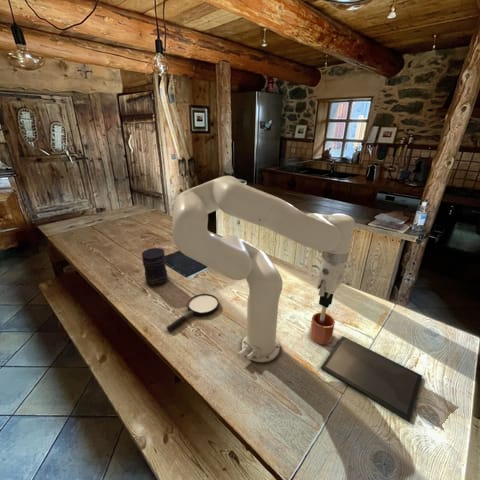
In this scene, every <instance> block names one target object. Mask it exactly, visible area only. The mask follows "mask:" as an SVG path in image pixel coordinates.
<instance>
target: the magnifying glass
mask: <svg viewBox="0 0 480 480" xmlns="http://www.w3.org/2000/svg"><path fill="white" fill-rule="evenodd" d="M219 305H220V304H219V299H218V297H216V296H215V295H213V294H209V293H200V294H196V295H194V296H192V297H191V298H190V299H188V301H187V310H188V312H187V313H185V314H184V315H182V316H180V317H179V318H177V319H176V320H174V321H173V322H172V323H170V324H169V325H167V326H166V330H167V331H168V332H169V333H172V332H173V331H174V330H175V329H177V328H178V327H179V326H180V325H182V324H183V323H185V322H187V320H188V319H189V318H190V317H192V316H195V317H206V316H210V315H212V314H214V313H215V312H217V310H218V309H219Z"/></svg>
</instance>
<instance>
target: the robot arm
mask: <svg viewBox="0 0 480 480" xmlns="http://www.w3.org/2000/svg"><path fill="white" fill-rule="evenodd" d="M219 210H221V212H222V213H224V214H226V215H228V216H231V217H234V218H236V219H239V220H242V221H245V222H248V223H251V224H253V225H257V226H259V227H263V228H265V229H267V230H270V231H271V232H273V233H275V234H277V235H280V236H282V237H284V238H287V239H288V240H290V241H292V242H295V243H296V244H298V245H301V246H304V247H307V248H309V249H313V250H316V251H318V252H321V253H320V255H321V256H320V259H321V260H322V261H321V263H320V268H319V272H318V276H317V281H316V288H317V290H319V292H318V294H317V295H318V296H319V300H318V304H319V306H321V307H322V306H324V307H326V309H328V308H329V307H330V305H332V304H333V298H334V293H335V292H336V290H338V288H340V286H341V285H342V284H343V281H344V276H345V270H346V263H347V262H348V257H349V254H350V253H349V252H350V247H351V243H352V238H353V234H354V228H355V224H356V222H355V219H354V218H353V217H352V216H350V215H348V214H344V213H333V214H325V213H324V214H323V213H315V212H313V213H312V212H311V213H305V212H303V211H301V210H299V209H298V208H296V207H294V205H292V204H290V203H289V202H287V201H286V200H283V199H282V198H279V197H278V196H275V195H272V194H270V193H268V192H264V191H262V190H259V189H257V188H255V187H253V186H250V185H248V184H245V183H242V182H241V181H240V180H239V179H238V178H236V177H235V176H232V175H224V176H220V177H217V178H215V179H211V180H209V181H206V182H204V183H202V184H199V185H197V186H194V187H191V188H188V189H186V190H183V191H182V192H180V193H179V194H178V195H177V196H176V197H175V198H174V200H173V204H172V232H171V233H172V239H173V243H174V244H175V247H176V248H177V249H178V251H179V252H180V253H182V254H183V255H184V256H186V257H188V258H189V259H192V260H194V261H196V262H198V263H200V264H202V265H203V266H205V267H207V268H208V269H210V270H212V271H214V272H216V273H218V274H220V275H222V276H223V277H226V278H228V279H230V280H234V281H241V280H245V281H246V283H247V285H248V290H249V292H248V296H247V300H246V301H247V302H246V335H245V336H244V338H243V339H242V340H241V341H242V342H241V349H240V351H238V352H237V357H238V358H239V359H243V358H244V357H246V358H247V360H249V361H250V360H251V361H253V362H256V363H267V362H271V361H273V360H274V359H276V358H277V357H278V356H279V353H280V348H281V346H280V341H279V340H278V339H277V326H278V314H279V302H280V297H281V293H282V291H283V278H282V276H281V274H280V272H279V270H278V269H277V267H276V266H275V265H274V262H272V260H271V259H270V258H269V256H268V255H267V254H266V253H265V252H264V251H262V250H260V249H259V248H257V247H256V246H254V245H252V244H251V243H249V242H247V241H246V240H244V239H242V238H240V237H238V236H236V235H224V236H221V237H220V236H219V235H217V234H215V233H213V232H211V231H209V229H208V222H209V214H212V213H213V212H216V211H219ZM325 291H327V292H325Z"/></svg>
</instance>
